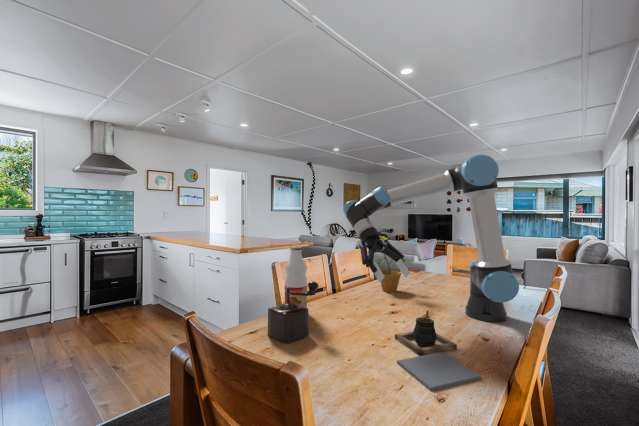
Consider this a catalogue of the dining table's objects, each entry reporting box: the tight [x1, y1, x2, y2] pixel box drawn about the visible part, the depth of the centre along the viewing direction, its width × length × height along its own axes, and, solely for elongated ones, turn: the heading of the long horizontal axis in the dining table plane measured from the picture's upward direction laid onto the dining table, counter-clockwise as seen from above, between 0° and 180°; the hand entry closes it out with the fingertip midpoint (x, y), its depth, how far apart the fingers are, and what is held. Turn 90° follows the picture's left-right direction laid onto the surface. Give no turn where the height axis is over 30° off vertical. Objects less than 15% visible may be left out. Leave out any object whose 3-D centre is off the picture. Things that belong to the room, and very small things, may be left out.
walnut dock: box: [394, 331, 458, 356], centre depth 99 cm, size 14×13×2 cm
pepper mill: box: [267, 281, 319, 345], centre depth 107 cm, size 16×11×18 cm
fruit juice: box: [284, 246, 308, 308], centre depth 128 cm, size 9×9×28 cm
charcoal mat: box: [396, 352, 482, 392], centre depth 82 cm, size 16×14×1 cm
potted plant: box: [375, 235, 407, 293], centre depth 165 cm, size 18×19×30 cm
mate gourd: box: [412, 310, 437, 348], centre depth 99 cm, size 7×8×10 cm
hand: (395, 277), depth 109 cm, fingers open, 13 cm apart
